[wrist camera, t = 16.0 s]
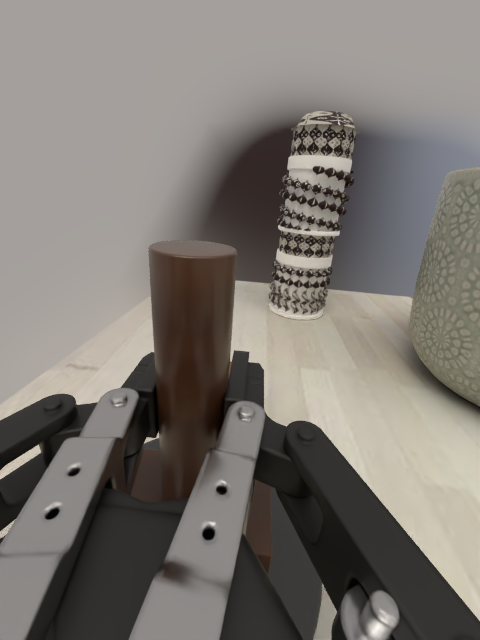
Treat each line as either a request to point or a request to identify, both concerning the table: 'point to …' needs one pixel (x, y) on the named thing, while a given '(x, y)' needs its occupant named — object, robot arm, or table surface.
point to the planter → (451, 288)
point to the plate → (289, 568)
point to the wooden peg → (193, 374)
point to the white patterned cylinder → (311, 213)
